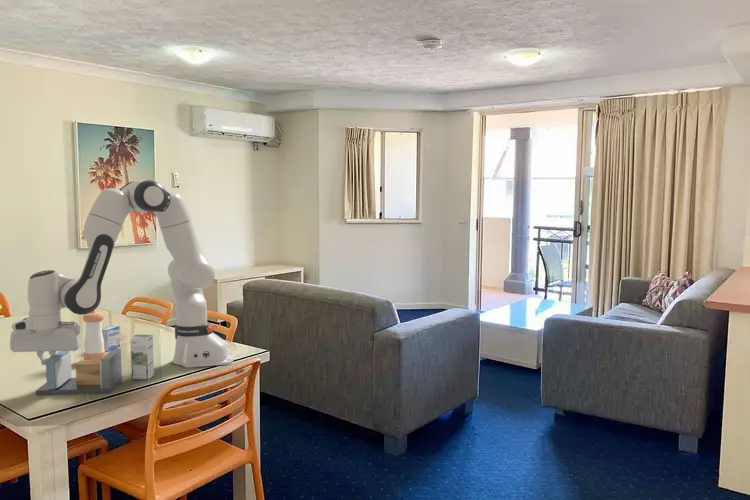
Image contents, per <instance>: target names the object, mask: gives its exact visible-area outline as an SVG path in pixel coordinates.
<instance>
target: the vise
mask: <svg viewBox="0 0 750 500" xmlns="http://www.w3.org/2000/svg"><path fill="white" fill-rule="evenodd" d="M122 368H123V367H122V348H115V349H113V350H110V351H108V352H107V354H105V356H104V357H103V358H102V359H101V361H100V384H101V385H77V384H76V377H71V378H70V379H68V380H67V381H66V382H65V383H63V384H62V385H61V386H60V387H58V388H56V389H47V382H45V383H44V384H42V385H41V386H40V387H39V388H37V389H36V390H35V396H50V395H51V396H53V395H54V396H55V395H57V396H58V395H59V394H62V395H86V394H88V395H89V394H111V393H112V392H113V391H114V390H115V389H116V387H118V386H119V384H120V383H122V381H123V378H122V377H123V375H122V374H123V373H122Z"/></svg>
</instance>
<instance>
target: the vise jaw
mask: <svg viewBox="0 0 750 500" xmlns="http://www.w3.org/2000/svg"><path fill="white" fill-rule="evenodd" d="M71 356H72V353H71V352H70V351H57V352H56V354H55V355H53V356H52V357H50V356H49V357H50V358H49V357H48V358H49V359H47V360H46V365H45V372H46V373H45V376H46V383H47V389H56V388H58V387H60V386H61V385H62V384H63V383H65V382H66V381H67V380H68V379H70V378H73V377H72V376H73V375H72V357H71Z"/></svg>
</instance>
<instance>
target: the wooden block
mask: <svg viewBox="0 0 750 500" xmlns="http://www.w3.org/2000/svg"><path fill="white" fill-rule="evenodd" d="M100 361H101V360H84V359H82V360H79V361H78V362H76V363H75V378H76V384H77V385H101V384H100Z"/></svg>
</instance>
